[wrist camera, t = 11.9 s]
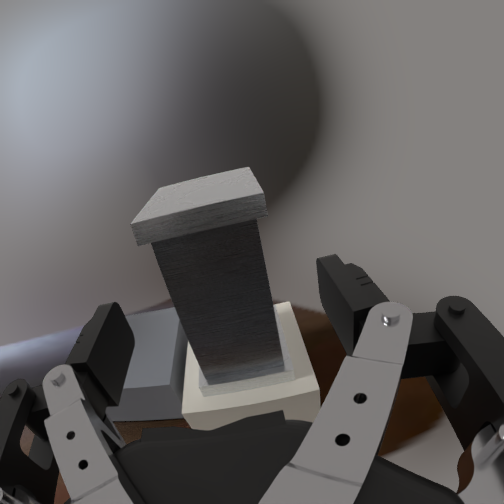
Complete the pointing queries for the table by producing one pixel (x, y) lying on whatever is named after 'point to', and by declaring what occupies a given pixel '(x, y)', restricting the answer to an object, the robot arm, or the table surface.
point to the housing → (219, 278)
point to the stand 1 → (154, 369)
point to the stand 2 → (260, 399)
